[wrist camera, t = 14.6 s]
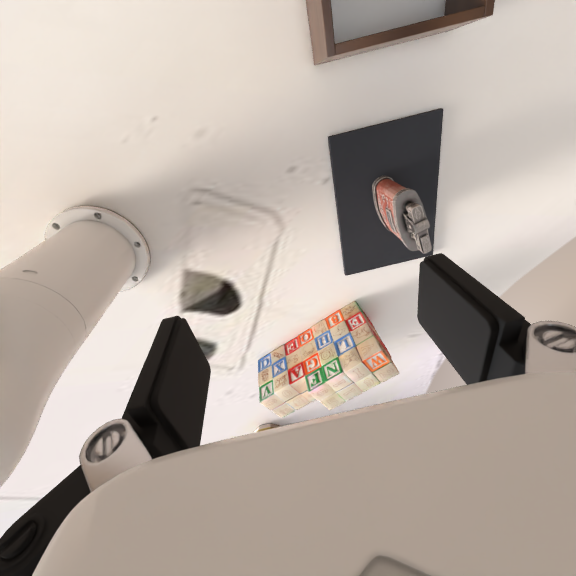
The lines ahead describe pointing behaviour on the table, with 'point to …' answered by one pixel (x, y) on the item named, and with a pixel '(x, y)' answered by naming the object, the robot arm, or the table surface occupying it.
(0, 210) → the table surface
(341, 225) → the charcoal mat
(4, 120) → the table surface
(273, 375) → the stack of blocks
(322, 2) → the walnut box
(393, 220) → the lighter
